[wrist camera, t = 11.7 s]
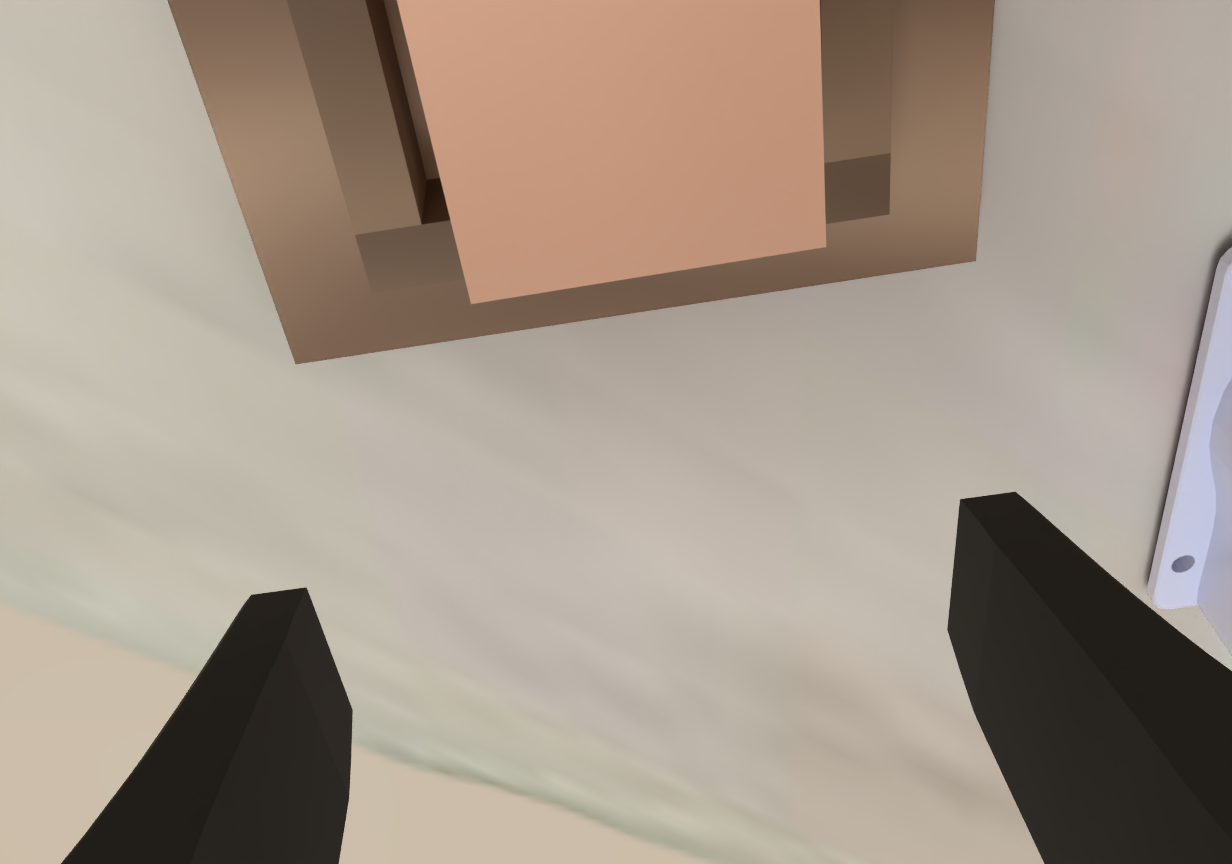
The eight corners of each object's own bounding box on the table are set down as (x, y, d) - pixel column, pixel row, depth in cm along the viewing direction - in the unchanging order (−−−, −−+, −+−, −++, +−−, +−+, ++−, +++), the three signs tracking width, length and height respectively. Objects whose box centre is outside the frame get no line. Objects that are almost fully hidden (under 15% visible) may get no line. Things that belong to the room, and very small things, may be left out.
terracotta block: (736, 66, 17) (826, 247, 13) (477, 108, 18) (470, 304, 13) (713, -231, 15) (815, -147, 10) (416, -182, 15) (378, -76, 10)
